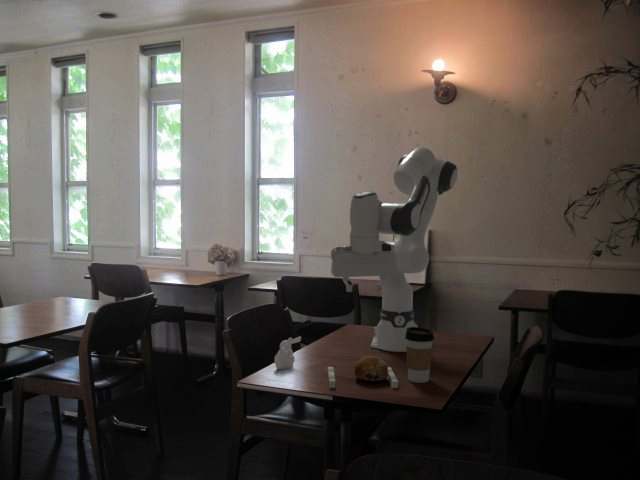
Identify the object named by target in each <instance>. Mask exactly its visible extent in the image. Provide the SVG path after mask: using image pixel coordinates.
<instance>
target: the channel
mask: <svg viewBox="0 0 640 480" xmlns="http://www.w3.org/2000/svg"><path fill="white" fill-rule="evenodd" d="M387 367H388V375H387V378H386V379H387V380H388V383H389V384H390V387H391V389H399V380H398V378H397V377H396V375H395V373H394V371H393V369H392V367H391V366H387ZM327 378H328V386H329V389H335V388H336V377H335V370H334V367H333V366H327Z"/></svg>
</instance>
